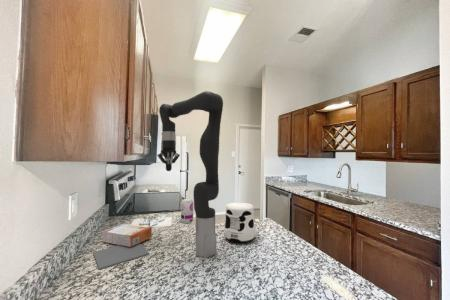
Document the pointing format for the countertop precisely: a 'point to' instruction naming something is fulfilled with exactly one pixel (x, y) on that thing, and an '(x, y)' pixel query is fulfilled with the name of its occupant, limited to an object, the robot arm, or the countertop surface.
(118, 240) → the cracker box
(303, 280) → the countertop surface
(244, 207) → the milk container
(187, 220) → the supplement can
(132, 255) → the mat
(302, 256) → the countertop surface
